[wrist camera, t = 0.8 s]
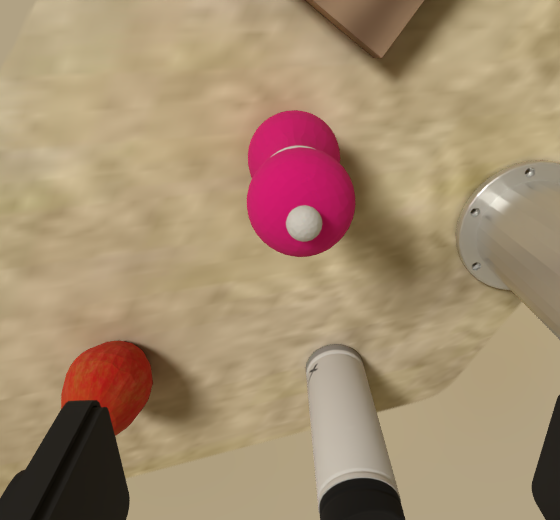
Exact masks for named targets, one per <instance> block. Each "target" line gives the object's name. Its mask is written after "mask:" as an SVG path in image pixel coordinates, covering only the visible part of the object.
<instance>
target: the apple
mask: <svg viewBox="0 0 560 520" xmlns="http://www.w3.org/2000/svg"><path fill="white" fill-rule="evenodd" d="M152 384H153V380H152V372H151V365H150V363H149V361H148V360H147V358H146V356H145V354H144V352H143V351H142V350H141V349H140V348H139V347H137V346H135V345H134V344H132V343H129V342H124V341H110V342H105V343H103V344H100V345H98V346H95V347H93V348H90V349H88V350H86V351H85V352H83V353H82V354H81V355H79V356H78V357H77V358H76V359H75V361H74V362H73V363H72V365H71V366H70V368H69V370H68V372H67V374H66V378H65V382H64V386H63V390H62V397H61V409H62V407H63V406H64V405H65V403H66V402H68V401H77V400H98V402H99V403H100V405H101V407H107V408H108V410H109V413H110V418H111V422H112V426H113V430H114V434H115V435H117V434H119V433H120V432H121V431H123V430H124V429H126V428H127V427H128V426H129V425H130V424H131V423H132V422H133V420H134V419H135V418H136V416H137V415H138V414H139V412H140V411H141V410H142V409H143V407H144V406H145V404H146V402H147V401H148V399H149V396H150V392H151V388H152Z"/></svg>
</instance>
